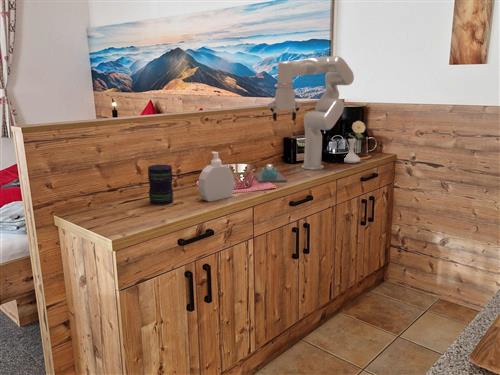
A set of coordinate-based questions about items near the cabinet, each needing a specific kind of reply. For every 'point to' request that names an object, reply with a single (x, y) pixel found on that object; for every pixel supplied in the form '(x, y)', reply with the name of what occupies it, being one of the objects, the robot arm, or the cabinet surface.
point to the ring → (269, 172)
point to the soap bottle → (216, 181)
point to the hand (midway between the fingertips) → (284, 120)
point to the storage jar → (160, 184)
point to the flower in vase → (357, 128)
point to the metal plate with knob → (272, 180)
